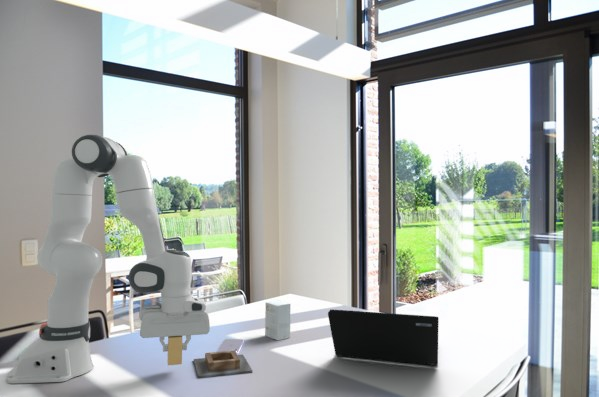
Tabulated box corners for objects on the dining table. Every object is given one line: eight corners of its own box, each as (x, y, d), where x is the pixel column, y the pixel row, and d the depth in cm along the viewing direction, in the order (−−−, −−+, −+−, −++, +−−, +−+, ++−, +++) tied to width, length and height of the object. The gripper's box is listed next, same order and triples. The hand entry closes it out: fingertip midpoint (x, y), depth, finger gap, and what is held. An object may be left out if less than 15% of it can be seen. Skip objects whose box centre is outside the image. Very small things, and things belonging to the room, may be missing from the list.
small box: (290, 337, 174) (291, 303, 174) (277, 340, 170) (277, 305, 170) (277, 333, 180) (278, 299, 180) (264, 335, 176) (265, 301, 176)
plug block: (167, 365, 135) (168, 338, 135) (167, 360, 139) (168, 334, 139) (181, 364, 136) (182, 337, 136) (181, 359, 140) (181, 333, 140)
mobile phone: (244, 338, 170) (238, 352, 155) (244, 341, 170) (238, 355, 155) (224, 338, 170) (215, 351, 155) (224, 340, 170) (215, 354, 155)
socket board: (198, 378, 133) (198, 367, 133) (193, 360, 147) (193, 351, 147) (252, 372, 138) (252, 362, 138) (242, 356, 152) (242, 346, 152)
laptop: (437, 345, 167) (437, 292, 168) (438, 384, 131) (439, 317, 132) (347, 337, 177) (347, 286, 177) (325, 371, 141) (326, 308, 141)
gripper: (139, 308, 132) (137, 356, 131) (211, 304, 138) (209, 351, 137) (139, 303, 138) (138, 349, 137) (208, 300, 144) (207, 344, 143)
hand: (174, 350), depth 137 cm, fingers closed on plug block, 4 cm apart
